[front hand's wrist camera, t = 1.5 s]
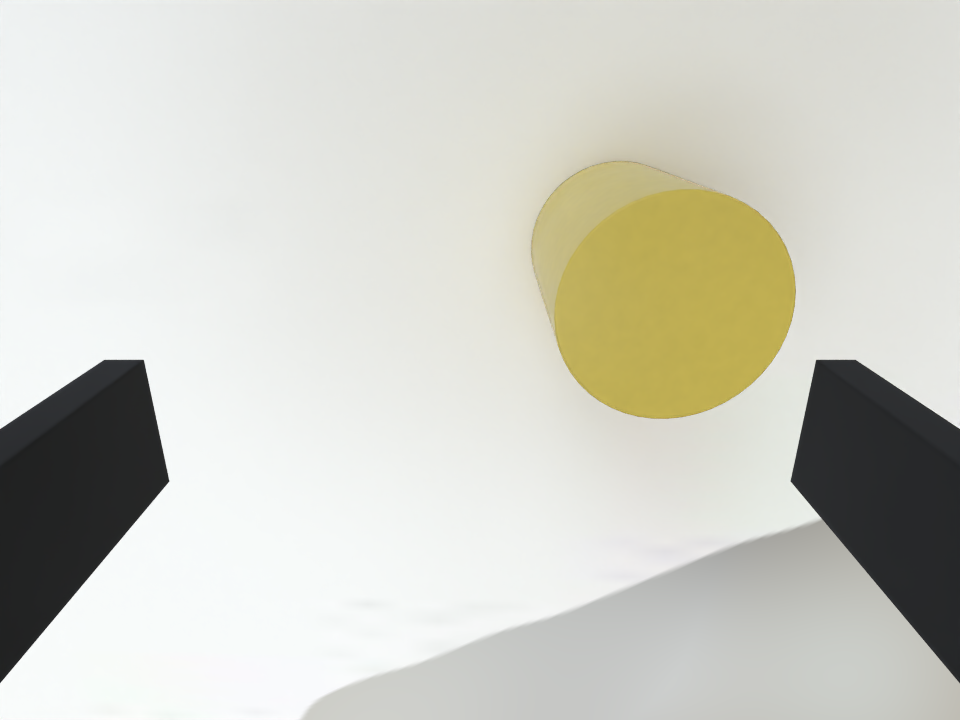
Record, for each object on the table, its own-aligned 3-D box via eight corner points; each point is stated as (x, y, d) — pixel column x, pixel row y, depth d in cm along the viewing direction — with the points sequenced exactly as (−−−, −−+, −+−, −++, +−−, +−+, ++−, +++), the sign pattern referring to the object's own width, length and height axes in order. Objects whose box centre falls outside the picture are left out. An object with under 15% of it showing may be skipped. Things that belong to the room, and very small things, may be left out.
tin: (599, 125, 30) (660, 135, 20) (730, 225, 32) (848, 281, 22) (499, 267, 32) (507, 341, 22) (624, 352, 34) (685, 457, 24)
